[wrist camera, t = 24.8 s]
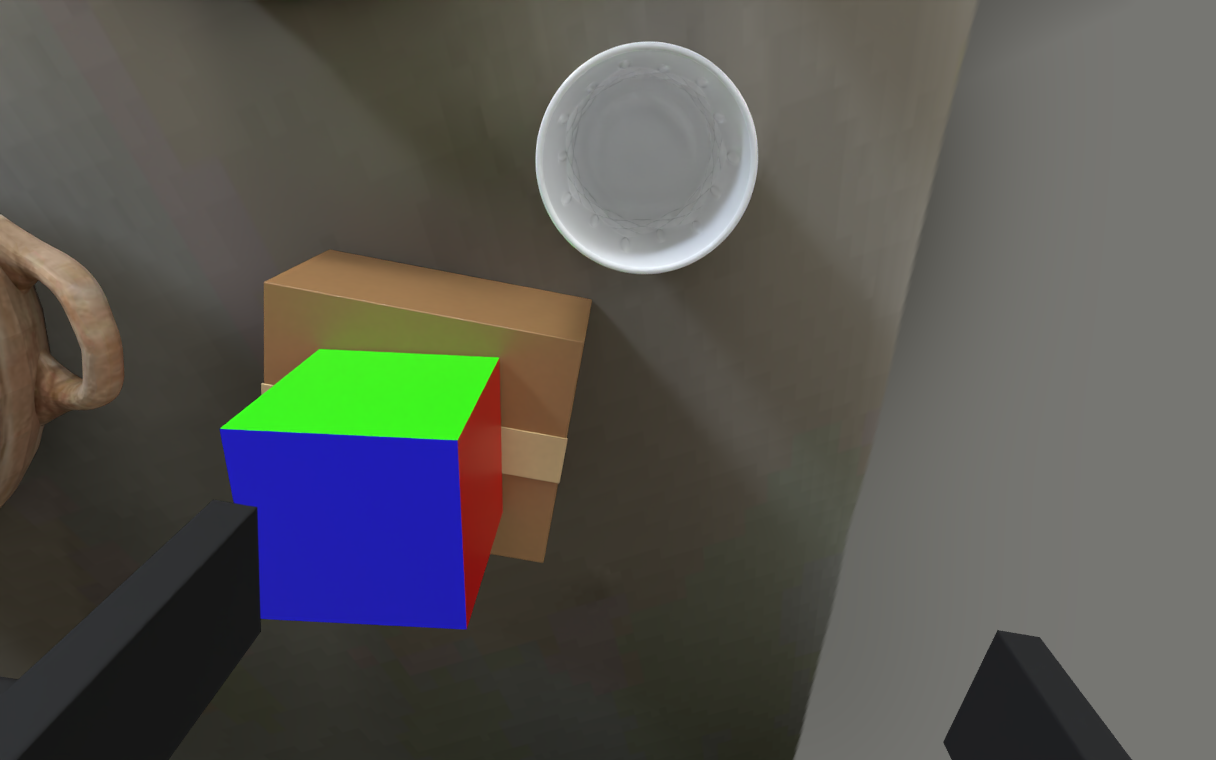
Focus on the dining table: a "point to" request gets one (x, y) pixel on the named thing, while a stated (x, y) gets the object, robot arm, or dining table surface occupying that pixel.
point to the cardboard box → (449, 325)
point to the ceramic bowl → (47, 348)
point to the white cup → (646, 157)
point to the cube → (372, 486)
